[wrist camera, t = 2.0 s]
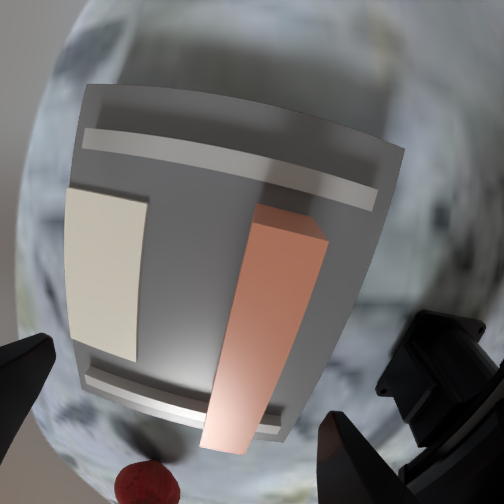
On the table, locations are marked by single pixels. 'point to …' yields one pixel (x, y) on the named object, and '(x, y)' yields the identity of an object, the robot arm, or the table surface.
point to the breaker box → (206, 239)
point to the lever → (262, 323)
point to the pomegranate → (146, 484)
